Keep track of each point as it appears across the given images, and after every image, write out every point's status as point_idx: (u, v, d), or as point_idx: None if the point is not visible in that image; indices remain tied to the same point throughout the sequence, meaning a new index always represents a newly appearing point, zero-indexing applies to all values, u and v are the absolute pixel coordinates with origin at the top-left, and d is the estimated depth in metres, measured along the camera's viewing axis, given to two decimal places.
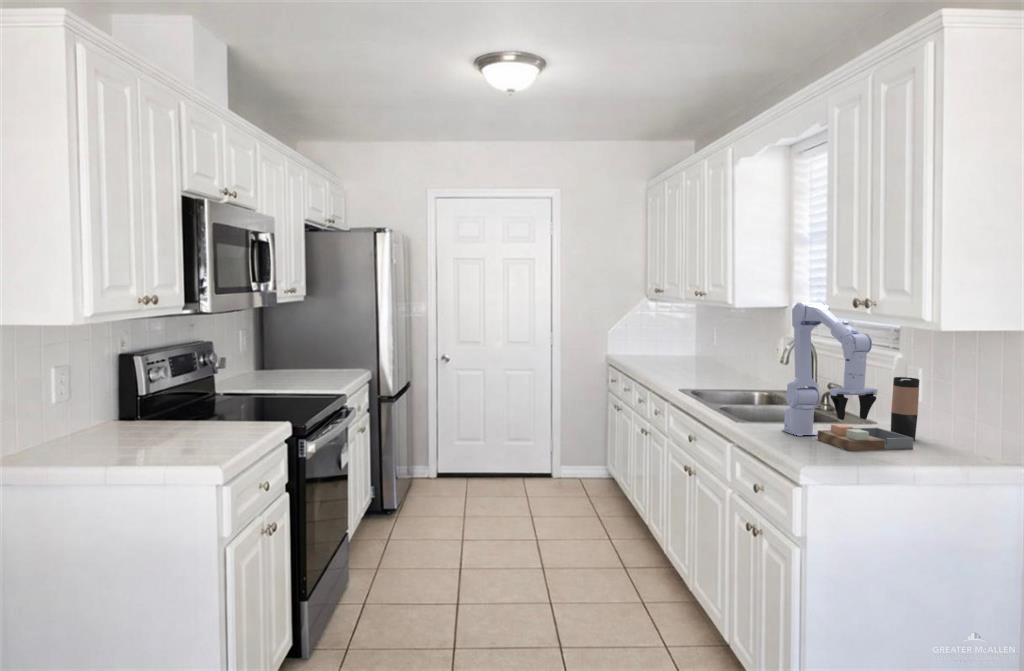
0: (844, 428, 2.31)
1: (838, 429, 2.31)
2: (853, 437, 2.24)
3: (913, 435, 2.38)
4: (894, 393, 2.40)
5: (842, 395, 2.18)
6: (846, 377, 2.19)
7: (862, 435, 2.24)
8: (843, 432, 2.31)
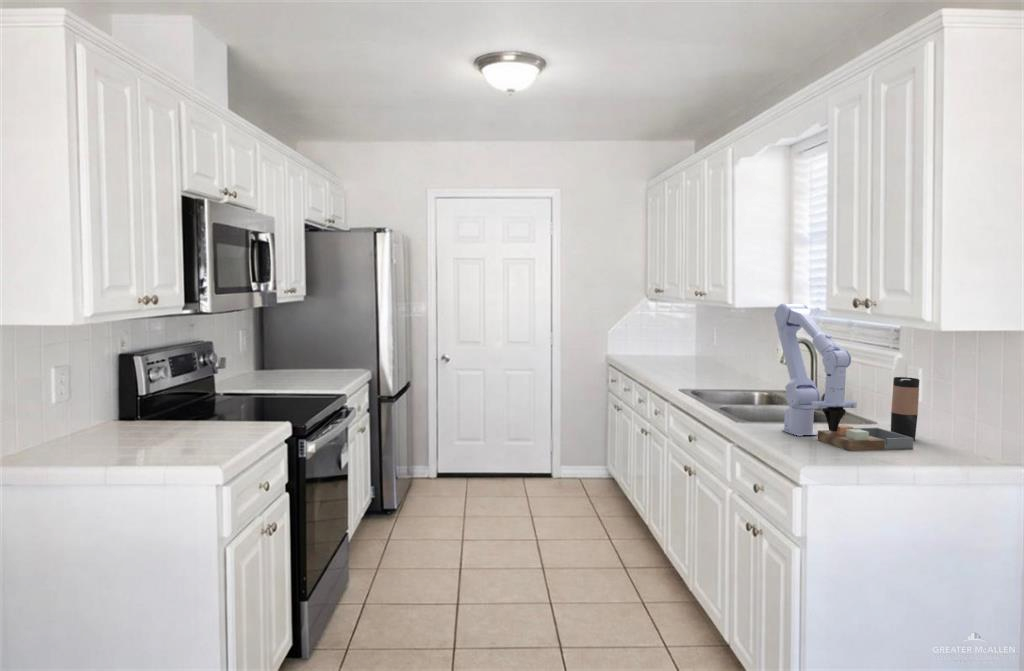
0: (844, 428, 2.31)
1: (839, 429, 2.31)
2: (853, 437, 2.24)
3: (913, 435, 2.38)
4: (894, 393, 2.40)
5: (833, 408, 2.31)
6: (827, 391, 2.31)
7: (862, 435, 2.24)
8: (843, 432, 2.31)
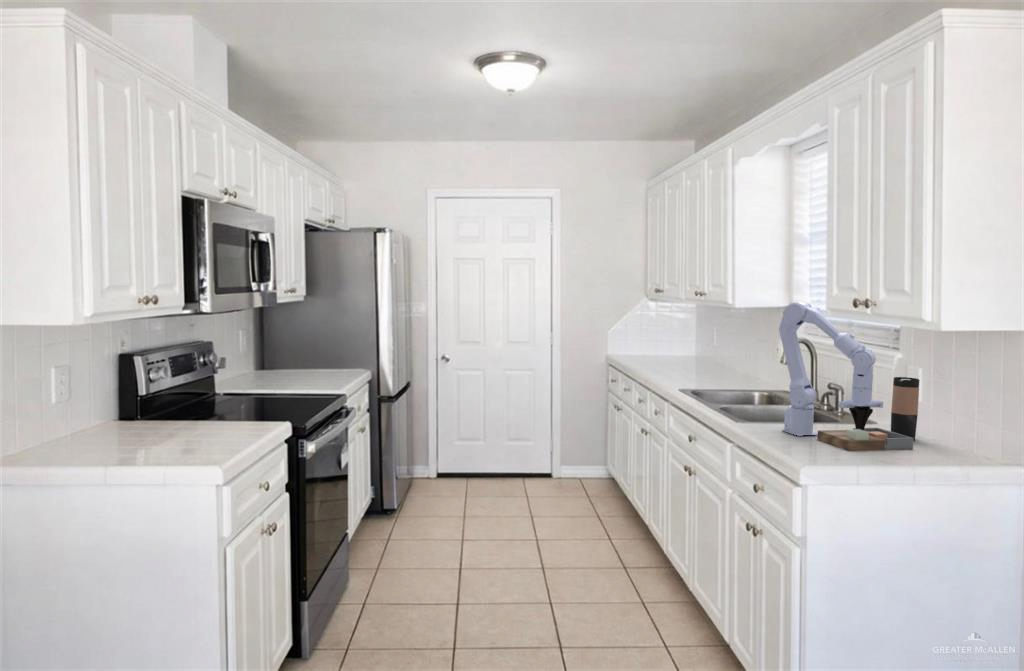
0: None
1: None
2: (853, 437, 2.24)
3: (913, 435, 2.38)
4: (894, 393, 2.40)
5: (860, 407, 2.33)
6: (854, 391, 2.33)
7: (862, 435, 2.24)
8: (884, 436, 2.34)
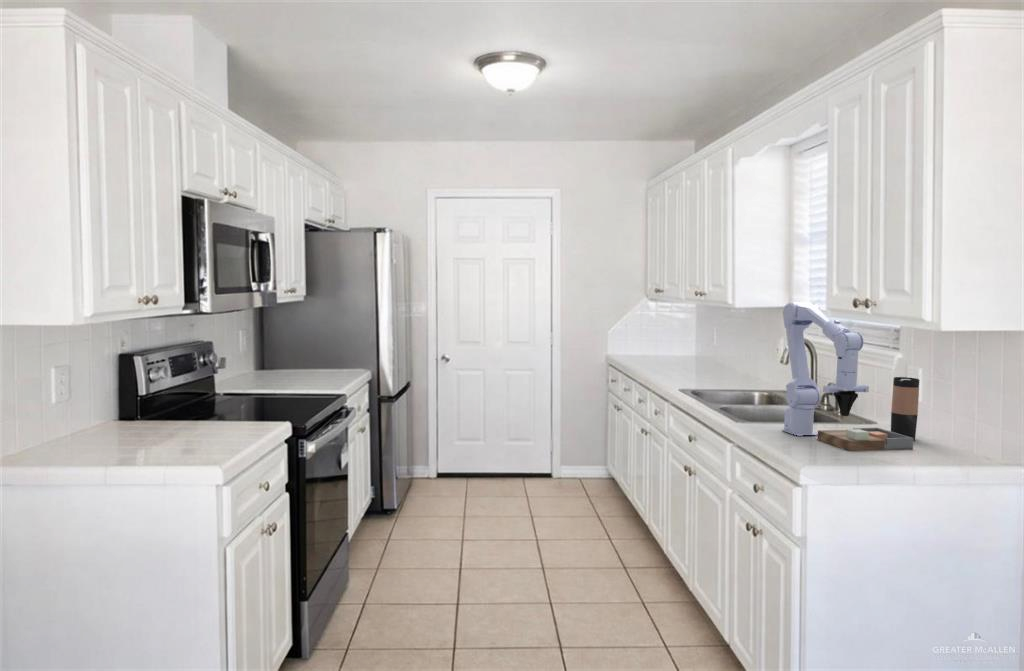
0: None
1: None
2: (853, 437, 2.24)
3: (913, 435, 2.38)
4: (894, 393, 2.40)
5: (845, 392, 2.24)
6: (838, 374, 2.24)
7: (862, 435, 2.24)
8: (884, 436, 2.34)
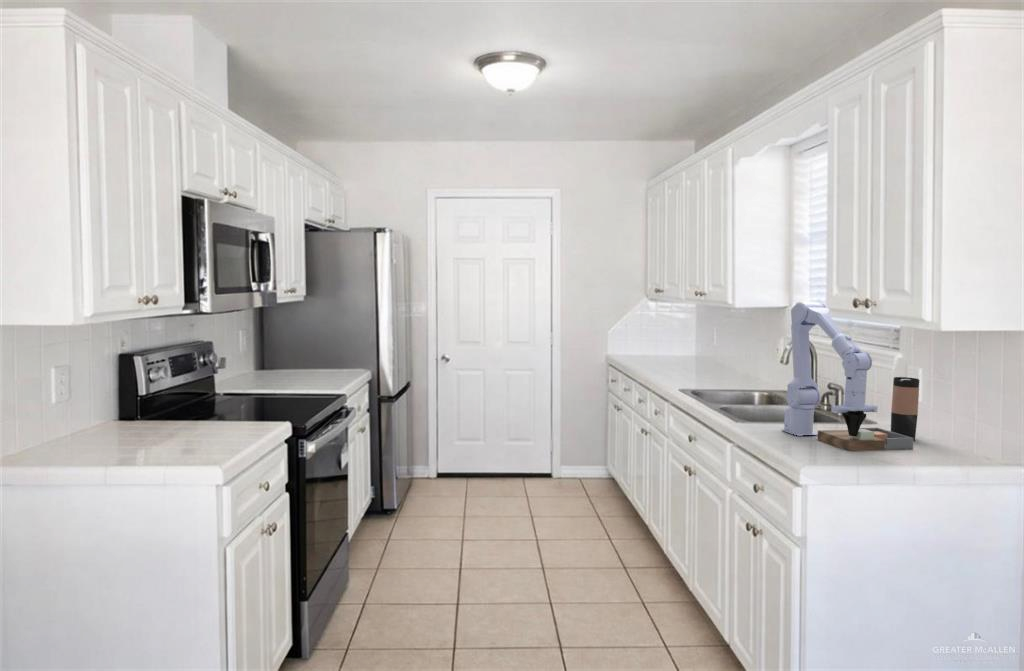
0: None
1: None
2: (858, 437, 2.24)
3: (913, 435, 2.38)
4: (894, 393, 2.40)
5: (853, 412, 2.24)
6: (847, 395, 2.24)
7: (867, 435, 2.24)
8: (884, 436, 2.34)
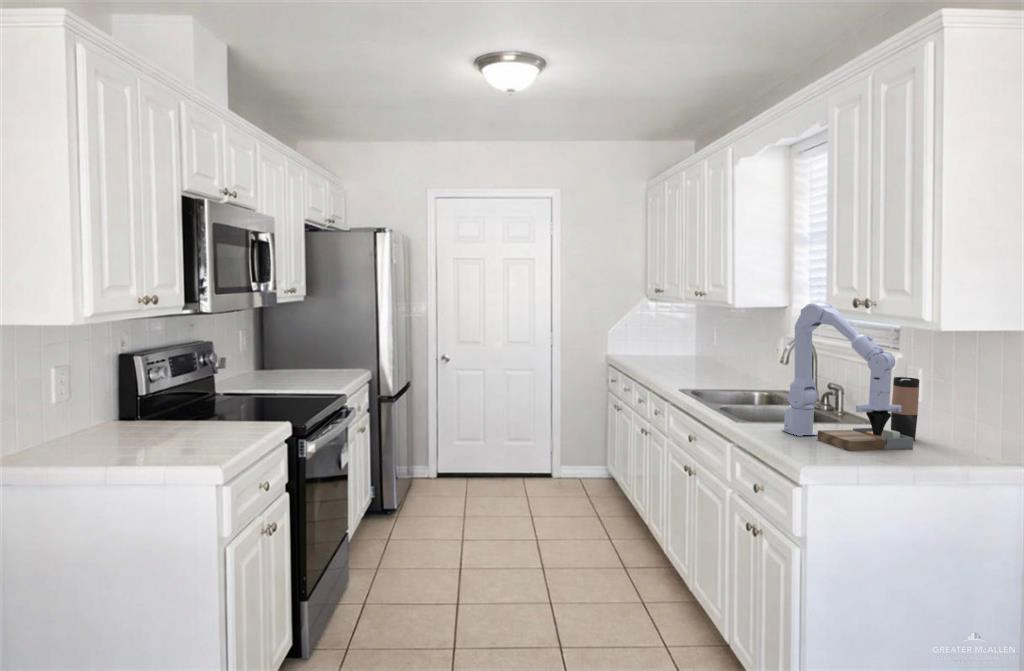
0: None
1: None
2: (892, 431, 2.27)
3: (913, 435, 2.38)
4: (894, 393, 2.40)
5: (878, 412, 2.25)
6: (871, 394, 2.25)
7: None
8: None
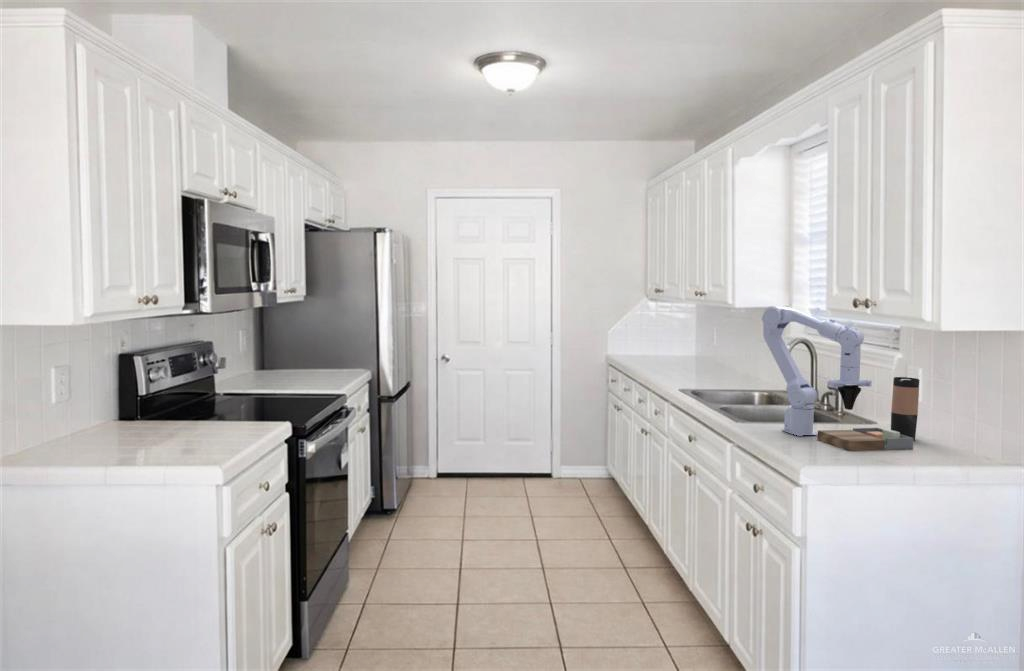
0: None
1: None
2: (892, 431, 2.27)
3: (913, 435, 2.38)
4: (894, 393, 2.40)
5: (848, 386, 2.33)
6: (842, 370, 2.33)
7: None
8: None
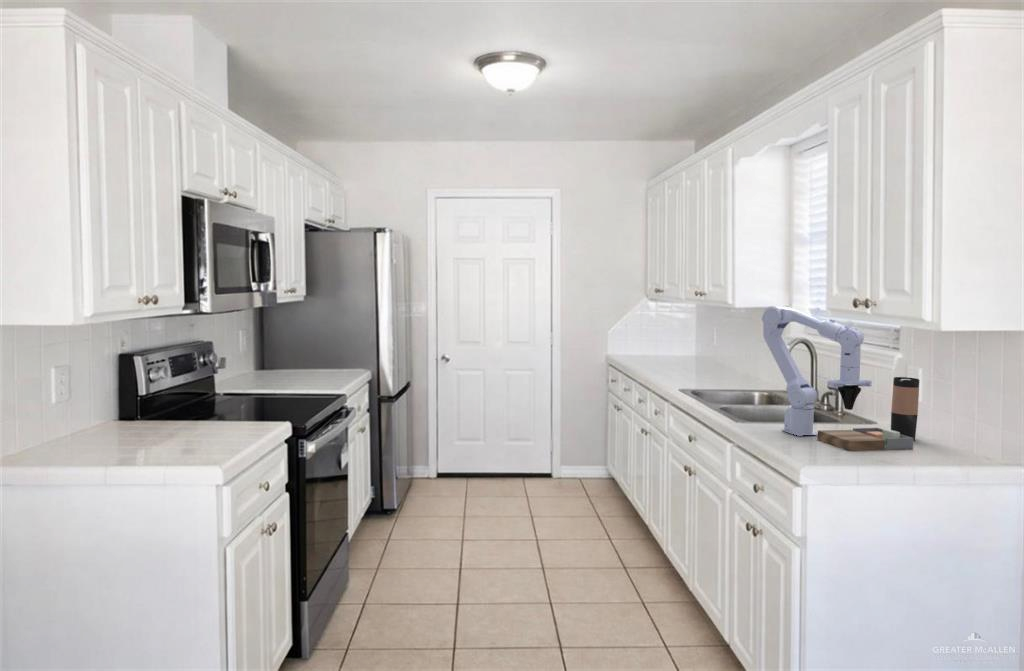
0: None
1: None
2: (892, 431, 2.27)
3: (913, 435, 2.38)
4: (894, 393, 2.40)
5: (848, 386, 2.33)
6: (842, 370, 2.33)
7: None
8: None
